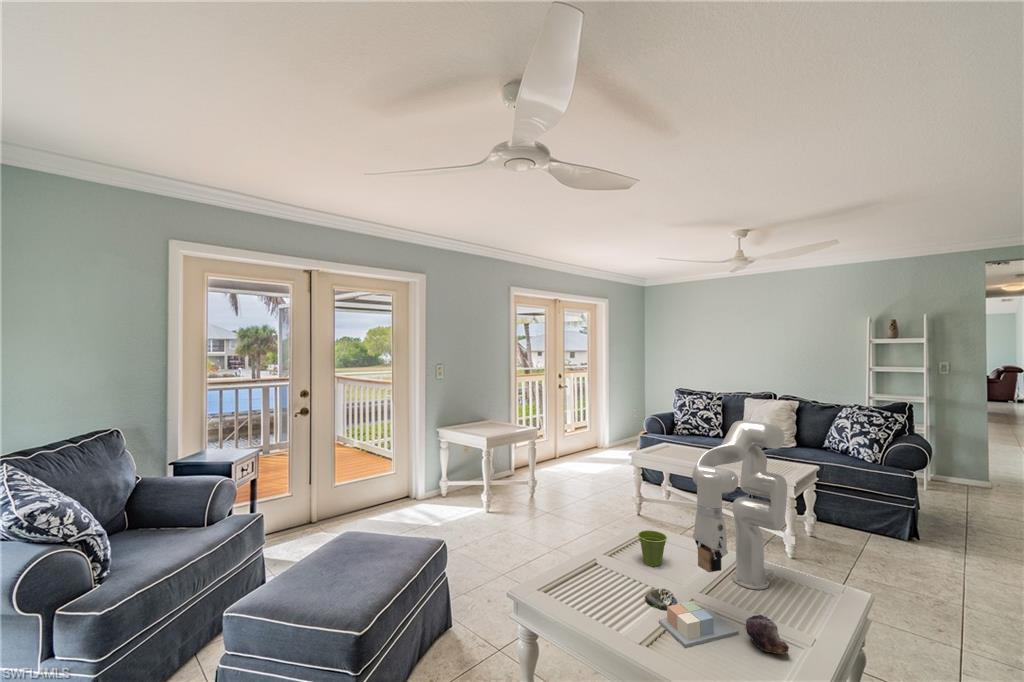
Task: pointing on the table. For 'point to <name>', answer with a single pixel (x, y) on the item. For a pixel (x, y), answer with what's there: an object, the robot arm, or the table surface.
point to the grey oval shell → (660, 599)
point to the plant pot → (652, 546)
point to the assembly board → (720, 631)
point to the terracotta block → (675, 614)
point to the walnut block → (705, 558)
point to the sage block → (691, 606)
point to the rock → (765, 634)
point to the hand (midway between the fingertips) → (709, 565)
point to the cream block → (688, 625)
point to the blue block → (704, 622)
